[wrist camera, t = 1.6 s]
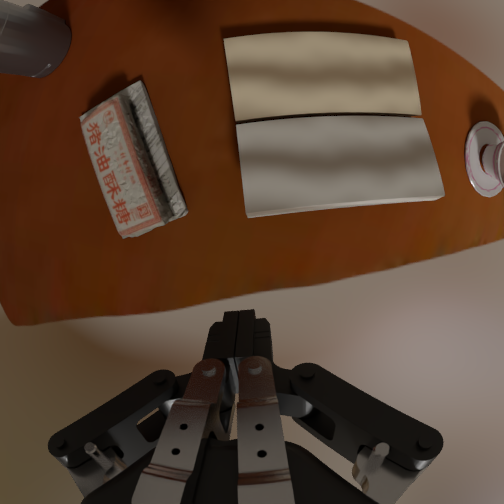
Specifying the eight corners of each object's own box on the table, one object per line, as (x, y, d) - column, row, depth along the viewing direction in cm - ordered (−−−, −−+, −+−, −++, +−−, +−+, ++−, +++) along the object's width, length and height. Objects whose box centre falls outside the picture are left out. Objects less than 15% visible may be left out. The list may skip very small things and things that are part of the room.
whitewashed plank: (238, 134, 29) (235, 124, 27) (414, 127, 28) (422, 118, 25) (248, 217, 29) (246, 213, 26) (434, 200, 27) (445, 195, 25)
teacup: (463, 197, 31) (489, 207, 26) (460, 116, 27) (488, 116, 21) (506, 195, 31) (530, 205, 25) (505, 126, 26) (530, 128, 21)
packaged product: (181, 222, 29) (110, 249, 30) (191, 212, 34) (126, 236, 35) (129, 73, 23) (62, 115, 24) (145, 81, 27) (83, 117, 29)
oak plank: (225, 46, 26) (223, 38, 23) (398, 46, 24) (407, 40, 22) (237, 122, 29) (235, 120, 27) (411, 116, 28) (421, 115, 25)
